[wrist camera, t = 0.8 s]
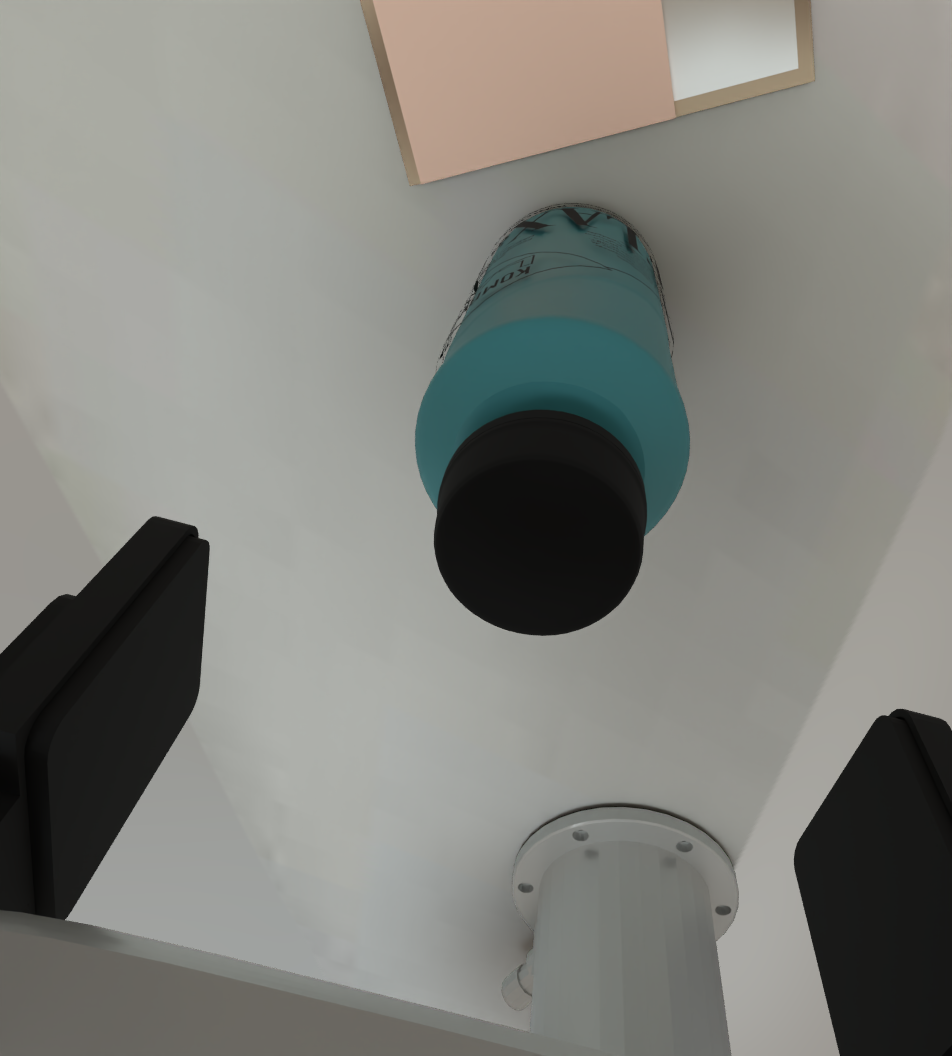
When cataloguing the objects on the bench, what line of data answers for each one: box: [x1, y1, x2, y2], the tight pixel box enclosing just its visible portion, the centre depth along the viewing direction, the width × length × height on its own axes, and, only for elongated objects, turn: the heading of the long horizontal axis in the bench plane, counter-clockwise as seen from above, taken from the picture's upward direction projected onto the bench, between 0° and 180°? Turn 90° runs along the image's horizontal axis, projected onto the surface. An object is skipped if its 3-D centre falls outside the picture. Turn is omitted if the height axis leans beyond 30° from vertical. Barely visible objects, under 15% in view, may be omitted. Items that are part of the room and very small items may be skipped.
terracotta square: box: [373, 0, 676, 184], centre depth 28 cm, size 9×9×1 cm
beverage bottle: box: [415, 203, 690, 636], centre depth 24 cm, size 6×7×20 cm
